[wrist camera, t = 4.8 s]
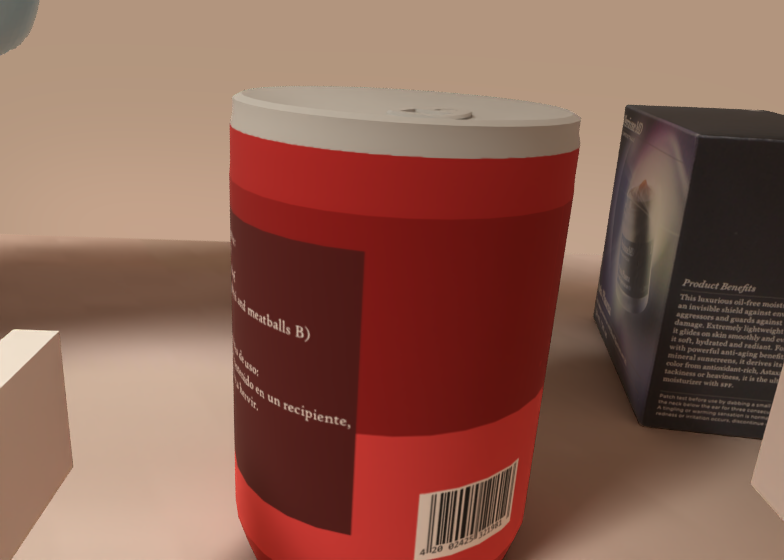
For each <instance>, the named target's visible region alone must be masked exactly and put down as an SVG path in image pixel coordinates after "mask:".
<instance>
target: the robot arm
mask: <svg viewBox="0 0 784 560" xmlns="http://www.w3.org/2000/svg"><path fill="white" fill-rule="evenodd" d="M38 5H39V0H0V55H2V54H5V53H6V52H8V51H9V50H11V49H14V48H16V47H17V46H18V45H20V44H21V43H22V42H23V41H24V39H25V38H26V37H27V36H28V34H29V33H30V31H31V29H32V26H33V23H34V20H35V18H36V14H37V10H38ZM72 468H73V460H72V451H71V441H70V431H69V422H68V412H67V403H66V393H65V383H64V374H63V364H62V354H61V345H60V335H59V331H46V330H20V329H13V330H12V331H11V332H10V333H8V334H7V335H6V336H5V337H4V338H2V339H1V340H0V560H11V559H12V558H13V556H14V555H15V553H16V552H17V550H18V549H19V547H20V546H21V544H22V543H23V541H24V540H25V538H26V537H27V535H28V534H29V532H30V531H31V529H32V528H33V526H34V525H35V523H36V522H37V520H38V519H39V517H40V516H41V514H42V513H43V511H44V510H45V508H46V507H47V505H48V504H49V502H50V501H51V499H52V498H53V496H54V495H55V493H56V492H57V490H58V489H59V487H60V486H61V484H62V483H63V481H64V480H65V478H66V477H67V475H68V474H69V472H70V471H71V469H72ZM750 484H751V485H752V486H753V488H754V489H755V490H756V491H757V492H758V493H759V494H760V495H761V497H762V498H763V499H764V500H765V501H766V502H767V503H768V504H769V506H770V507H771V508H772V509H773V510H774V511H775V512H776V514H777V515H778V516H779V517H780V518H781V519H782V520H783V521H784V364H783V367H782V371H781V375H780V378H779V382H778V385H777V389H776V393H775V396H774V400H773V404H772V407H771V411H770V414H769V418H768V422H767V425H766V429H765V433H764V436H763V440H762V443H761V447H760V451H759V454H758V458H757V462H756V465H755V469H754V472H753V476H752V480H751V483H750Z"/></svg>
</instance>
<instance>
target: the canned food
mask: <svg viewBox="0 0 784 560" xmlns="http://www.w3.org/2000/svg"><path fill="white" fill-rule="evenodd" d="M232 99H233V112H232V117H231V120H230V173H229V176H230V177H229V178H230V179H229V180H230V230H231V282H232V332H233V383H234V434H235V485H236V503H237V510H238V517H239V519H240V522H241V524H242V527H243V529H244V532H245V534H246V537H247V539H248V542H249V544H250V546H251V548H252V550H253V552H254V554H255V556H256V558H257V560H503V558H504V556H505V554H506V552H507V551H508V549H509V547H510V545H511V543H512V541H513V540H514V538H515V536H516V534H517V532H518V530H519V528H520V526H521V524H522V521H523V515H524V509H525V502H526V496H527V490H528V483H529V477H530V470H531V464H532V457H533V451H534V445H535V438H536V432H537V425H538V419H539V413H540V406H541V400H542V393H543V387H544V380H545V374H546V368H547V361H548V355H549V348H550V342H551V336H552V329H553V323H554V316H555V310H556V303H557V297H558V291H559V284H560V278H561V271H562V265H563V259H564V252H565V246H566V239H567V232H568V226H569V219H570V214H571V207H572V201H573V194H574V183H575V174H576V168H577V161H578V155H579V148H580V137H579V128H580V121H581V117H579V116H578V115H576V114H575V113H573V112H571V111H569V110H567V109H563V108H560V107H556V106H551V105H546V104H540V103H534V102H527V101H521V100H513V99H506V98H497V97H488V96H478V95H469V94H458V93H446V92H434V91H419V90H404V89H387V88H365V87H364V88H363V87H334V86H333V87H332V86H282V87H263V88H253V89H248V90H244V91H242V92H240V93H238V94H236V95H234V96H233V97H232Z"/></svg>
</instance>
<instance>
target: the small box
mask: <svg viewBox="0 0 784 560" xmlns="http://www.w3.org/2000/svg"><path fill="white" fill-rule="evenodd" d="M593 317H594V320H595V322H596V324H597V326H598V329H599V331H600V333H601V336H602V338H603V340H604V342H605V345H606V347H607V349H608V352H609V354H610V356H611V359H612V361H613V363H614V366H615V368H616V370H617V373H618V375H619V377H620V380H621V382H622V384H623V386H624V389H625V391H626V394H627V396H628V398H629V401H630V403H631V405H632V408H633V410H634V412H635V415H636V417H637V419H638V422H639V424H640V425H641V426H646V427H654V428H664V429H672V430H681V431H693V432H701V433H711V434H719V435H728V436H738V437H748V438H758V439H763V436H764V433H765V429H766V425H767V422H768V418H769V414H770V411H771V407H772V404H773V400H774V396H775V393H776V389H777V385H778V382H779V378H780V375H781V371H782V367H783V364H784V115H781V114H777V113H774V112H770V111H764V110H742V109H719V108H697V107H670V106H645V105H644V106H643V105H627V106H626V107H625V116H624V124H623V130H622V136H621V142H620V149H619V156H618V162H617V168H616V174H615V182H614V187H613V194H612V200H611V206H610V213H609V219H608V226H607V233H606V239H605V245H604V252H603V258H602V264H601V271H600V277H599V283H598V290H597V296H596V303H595V309H594V316H593Z"/></svg>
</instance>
